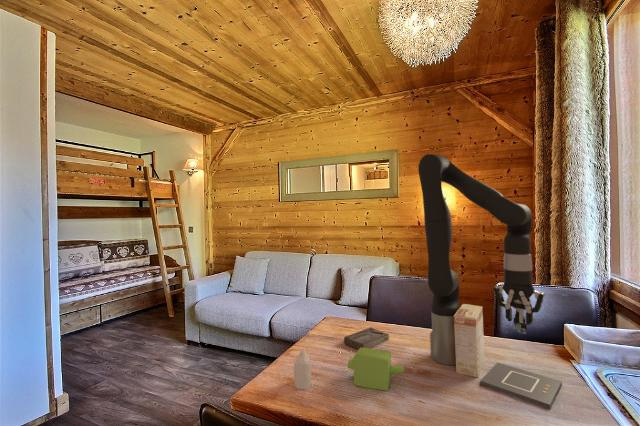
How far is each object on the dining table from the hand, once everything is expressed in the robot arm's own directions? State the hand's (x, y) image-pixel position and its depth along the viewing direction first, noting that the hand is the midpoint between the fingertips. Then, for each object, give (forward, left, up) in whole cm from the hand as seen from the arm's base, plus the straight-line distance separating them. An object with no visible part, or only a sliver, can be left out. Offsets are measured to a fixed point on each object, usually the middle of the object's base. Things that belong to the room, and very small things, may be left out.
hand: (519, 322), depth 98 cm
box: (-55, -7, -20) cm, 59 cm away
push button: (0, 0, -3) cm, 3 cm away
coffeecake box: (-16, +1, -19) cm, 25 cm away
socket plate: (0, -1, -19) cm, 19 cm away
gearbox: (-34, -29, -20) cm, 49 cm away
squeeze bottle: (-50, -47, -19) cm, 71 cm away
